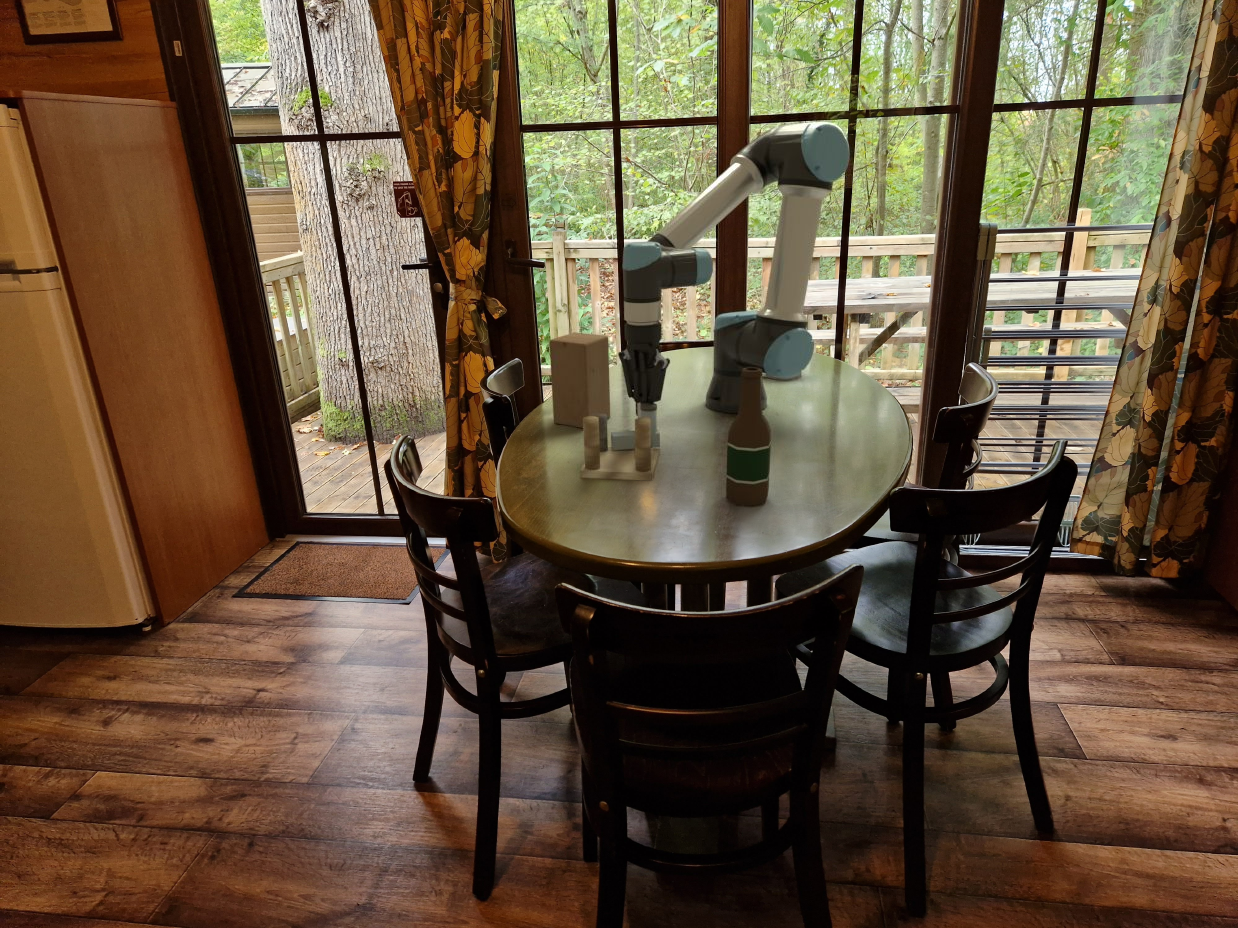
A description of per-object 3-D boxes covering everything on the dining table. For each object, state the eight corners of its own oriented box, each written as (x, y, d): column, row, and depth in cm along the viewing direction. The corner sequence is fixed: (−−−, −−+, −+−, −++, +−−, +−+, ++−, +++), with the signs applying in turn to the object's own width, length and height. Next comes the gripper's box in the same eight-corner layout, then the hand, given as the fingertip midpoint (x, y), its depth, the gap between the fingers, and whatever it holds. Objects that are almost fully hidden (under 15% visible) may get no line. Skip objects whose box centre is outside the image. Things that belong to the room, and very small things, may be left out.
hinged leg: (659, 447, 163) (659, 406, 160) (613, 450, 162) (612, 409, 158) (657, 442, 166) (656, 402, 163) (611, 445, 165) (609, 405, 162)
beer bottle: (721, 491, 145) (724, 364, 136) (762, 489, 145) (768, 362, 137) (730, 508, 138) (734, 375, 129) (774, 506, 138) (780, 373, 130)
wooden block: (587, 429, 181) (584, 343, 174) (552, 423, 186) (548, 339, 179) (611, 418, 189) (609, 335, 181) (577, 412, 194) (573, 331, 186)
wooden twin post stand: (660, 455, 164) (659, 402, 160) (652, 480, 151) (651, 423, 147) (594, 453, 166) (592, 400, 162) (580, 477, 153) (578, 421, 149)
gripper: (679, 322, 157) (679, 434, 165) (633, 315, 166) (635, 421, 174) (653, 328, 152) (654, 443, 161) (607, 320, 161) (611, 429, 170)
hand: (644, 431), depth 167 cm, fingers closed
